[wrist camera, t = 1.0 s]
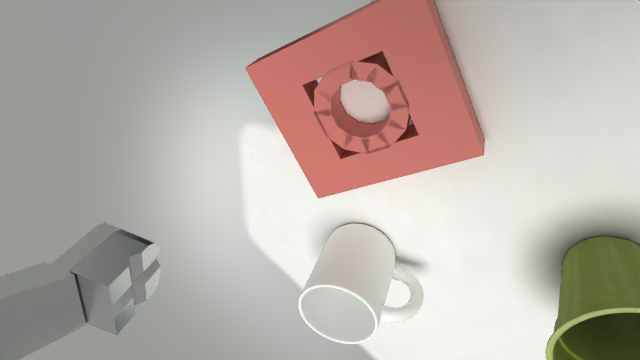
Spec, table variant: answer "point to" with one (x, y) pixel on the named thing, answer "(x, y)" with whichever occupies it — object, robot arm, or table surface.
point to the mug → (355, 286)
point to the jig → (385, 73)
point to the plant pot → (598, 302)
